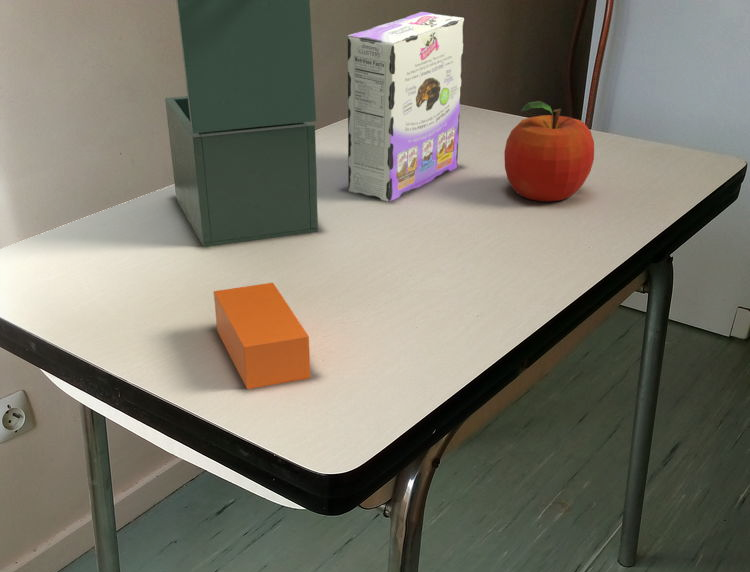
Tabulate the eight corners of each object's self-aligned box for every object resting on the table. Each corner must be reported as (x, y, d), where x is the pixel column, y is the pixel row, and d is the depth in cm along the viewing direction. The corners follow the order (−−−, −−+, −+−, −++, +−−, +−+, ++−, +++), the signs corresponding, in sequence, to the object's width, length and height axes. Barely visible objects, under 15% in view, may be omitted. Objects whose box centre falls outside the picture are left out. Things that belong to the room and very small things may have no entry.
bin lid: (170, -45, 84) (182, -42, 80) (304, -52, 87) (321, -49, 83) (191, 131, 91) (202, 142, 87) (313, 119, 94) (330, 129, 90)
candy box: (416, 161, 119) (421, 9, 109) (458, 171, 116) (467, 16, 106) (345, 194, 110) (344, 32, 100) (389, 206, 107) (392, 40, 97)
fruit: (597, 212, 106) (610, 114, 100) (507, 212, 106) (515, 115, 100) (579, 180, 114) (591, 88, 108) (495, 181, 114) (502, 88, 108)
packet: (247, 393, 76) (243, 346, 74) (217, 335, 84) (213, 290, 81) (310, 382, 77) (309, 336, 75) (275, 326, 85) (273, 282, 83)
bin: (176, 202, 108) (164, 97, 101) (281, 190, 111) (276, 87, 104) (204, 251, 97) (192, 137, 91) (318, 235, 101) (315, 125, 94)
